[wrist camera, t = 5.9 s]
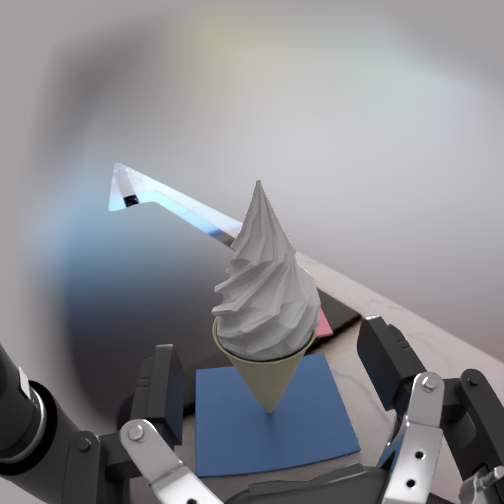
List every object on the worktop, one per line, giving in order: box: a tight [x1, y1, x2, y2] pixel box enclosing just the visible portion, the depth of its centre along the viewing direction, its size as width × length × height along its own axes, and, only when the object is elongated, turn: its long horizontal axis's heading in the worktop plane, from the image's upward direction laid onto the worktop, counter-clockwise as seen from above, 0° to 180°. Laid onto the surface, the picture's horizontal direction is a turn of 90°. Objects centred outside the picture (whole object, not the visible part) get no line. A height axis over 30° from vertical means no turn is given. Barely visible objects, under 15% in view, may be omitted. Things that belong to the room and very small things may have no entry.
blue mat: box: [196, 353, 361, 477], centre depth 18 cm, size 10×9×1 cm
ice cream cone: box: [212, 181, 321, 413], centre depth 14 cm, size 5×5×15 cm
